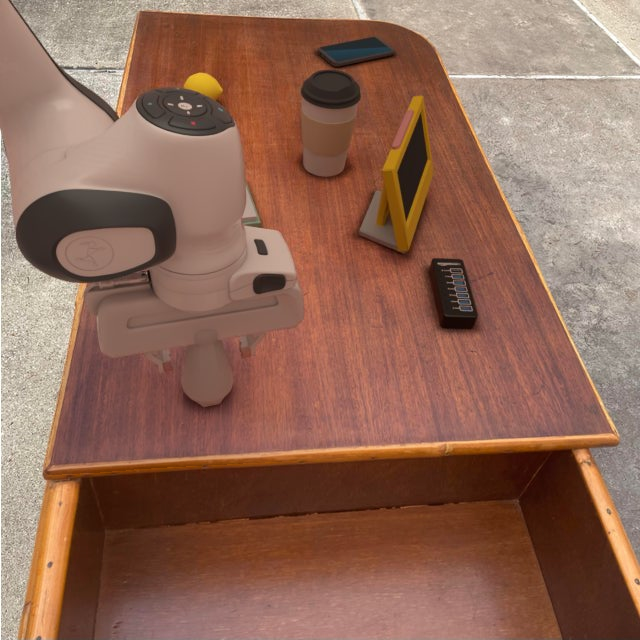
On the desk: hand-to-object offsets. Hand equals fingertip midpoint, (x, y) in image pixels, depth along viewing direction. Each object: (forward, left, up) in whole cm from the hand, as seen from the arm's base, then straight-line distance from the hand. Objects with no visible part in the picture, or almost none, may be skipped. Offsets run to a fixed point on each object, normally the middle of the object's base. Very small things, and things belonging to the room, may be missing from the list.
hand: (206, 359), depth 69 cm
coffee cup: (+26, +41, -6) cm, 49 cm away
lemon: (+10, +63, -6) cm, 64 cm away
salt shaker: (0, 0, -6) cm, 6 cm away
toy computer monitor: (+32, +25, -6) cm, 41 cm away
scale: (+6, +32, -6) cm, 33 cm away
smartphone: (+44, +78, -6) cm, 90 cm away
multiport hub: (+34, +8, -6) cm, 35 cm away
